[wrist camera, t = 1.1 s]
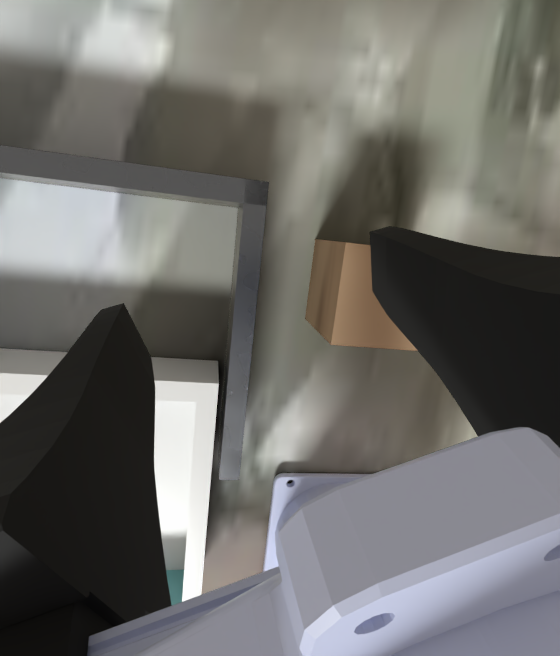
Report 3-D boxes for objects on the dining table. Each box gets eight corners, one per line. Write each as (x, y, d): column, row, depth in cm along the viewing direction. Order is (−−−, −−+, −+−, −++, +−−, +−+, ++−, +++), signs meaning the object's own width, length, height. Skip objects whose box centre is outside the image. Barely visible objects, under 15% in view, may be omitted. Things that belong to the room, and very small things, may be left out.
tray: (218, 360, 23) (218, 383, 20) (200, 569, 26) (199, 620, 23) (-63, 344, 21) (-118, 367, 17) (-46, 577, 24) (-89, 635, 20)
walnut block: (391, 247, 23) (443, 253, 18) (378, 324, 24) (423, 351, 19) (315, 239, 23) (345, 242, 17) (305, 318, 24) (330, 344, 18)
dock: (259, 190, 21) (269, 181, 18) (235, 440, 25) (238, 479, 21) (-111, 140, 18) (-196, 118, 15) (-84, 432, 22) (-148, 476, 18)
